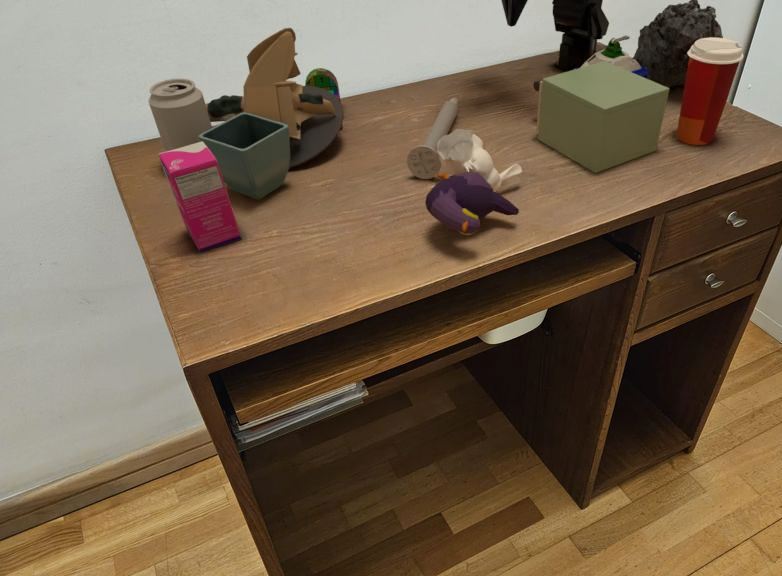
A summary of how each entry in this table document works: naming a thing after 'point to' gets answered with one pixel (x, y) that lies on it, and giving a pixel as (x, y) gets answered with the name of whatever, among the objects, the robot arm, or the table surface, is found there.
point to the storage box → (601, 115)
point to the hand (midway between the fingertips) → (511, 25)
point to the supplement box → (200, 195)
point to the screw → (432, 144)
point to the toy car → (617, 58)
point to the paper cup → (707, 88)
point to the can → (179, 112)
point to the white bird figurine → (471, 158)
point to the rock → (674, 41)
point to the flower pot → (250, 153)
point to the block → (323, 81)
